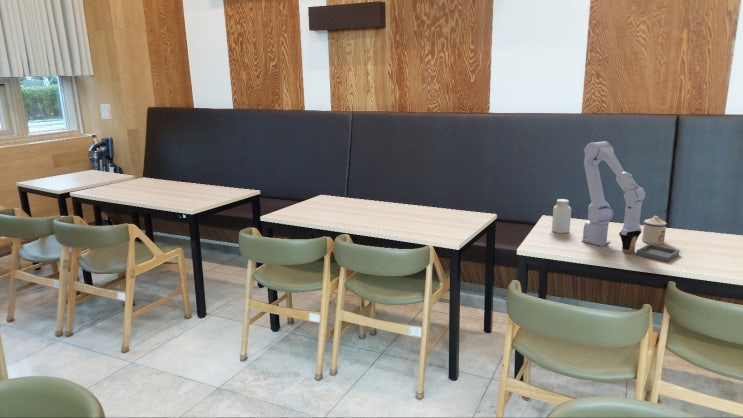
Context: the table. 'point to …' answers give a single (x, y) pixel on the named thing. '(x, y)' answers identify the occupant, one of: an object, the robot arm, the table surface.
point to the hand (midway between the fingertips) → (628, 248)
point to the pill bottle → (561, 216)
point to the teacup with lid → (654, 231)
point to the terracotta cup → (632, 246)
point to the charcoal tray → (657, 252)
